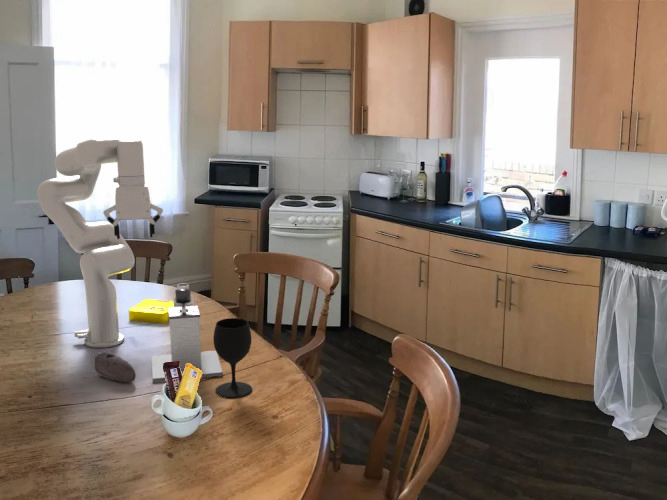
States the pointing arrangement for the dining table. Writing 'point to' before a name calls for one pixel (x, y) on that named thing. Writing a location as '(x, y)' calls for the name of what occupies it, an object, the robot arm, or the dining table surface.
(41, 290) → the dining table surface
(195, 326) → the grey block
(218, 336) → the wine glass
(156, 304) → the element tile
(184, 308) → the dark grey cylinder
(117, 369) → the perforated stone tool
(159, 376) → the grey board
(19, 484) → the dining table surface
